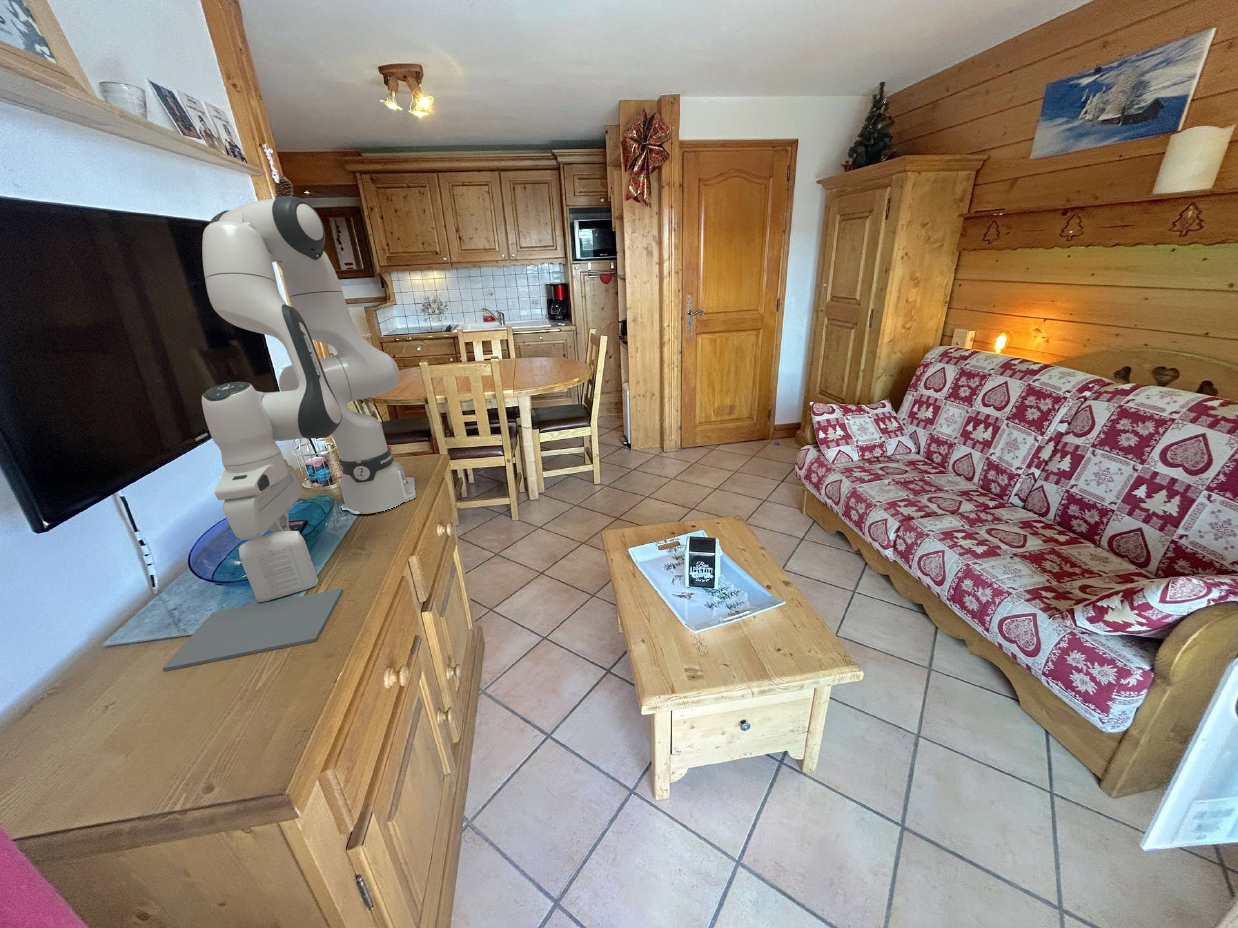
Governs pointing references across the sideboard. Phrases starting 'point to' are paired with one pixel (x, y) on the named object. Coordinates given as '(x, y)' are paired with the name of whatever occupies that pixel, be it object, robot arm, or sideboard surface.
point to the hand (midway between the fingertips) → (283, 536)
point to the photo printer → (278, 565)
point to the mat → (257, 629)
